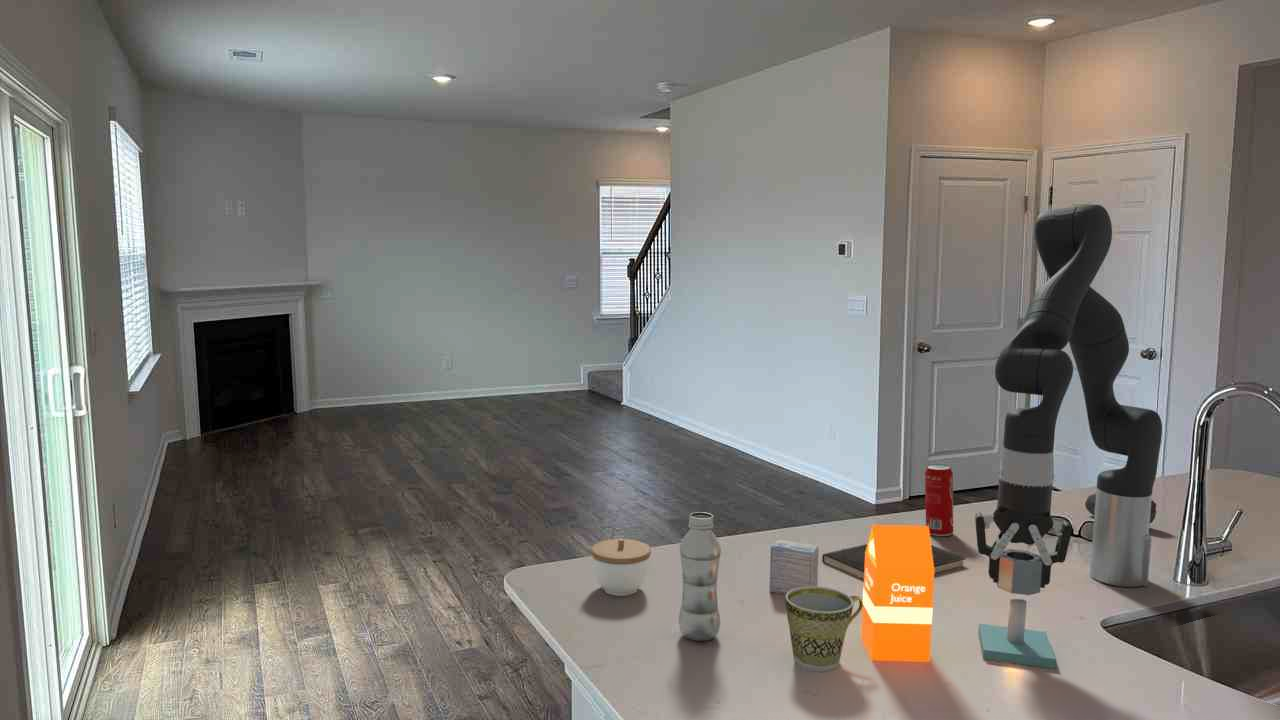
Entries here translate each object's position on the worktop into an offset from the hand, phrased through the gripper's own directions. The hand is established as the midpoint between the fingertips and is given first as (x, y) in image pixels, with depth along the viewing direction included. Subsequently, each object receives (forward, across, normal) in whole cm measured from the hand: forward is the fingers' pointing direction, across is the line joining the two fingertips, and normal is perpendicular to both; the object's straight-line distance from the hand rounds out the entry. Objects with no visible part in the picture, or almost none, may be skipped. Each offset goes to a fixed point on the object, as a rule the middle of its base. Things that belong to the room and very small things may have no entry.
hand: (1018, 583), depth 139 cm
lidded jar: (+11, +66, -4) cm, 67 cm away
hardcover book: (+11, +19, -34) cm, 40 cm away
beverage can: (+11, +10, -57) cm, 59 cm away
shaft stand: (+11, 0, 0) cm, 11 cm away
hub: (+1, 0, 0) cm, 1 cm away
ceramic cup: (+11, +28, +13) cm, 33 cm away
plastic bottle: (+11, +48, +11) cm, 50 cm away
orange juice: (+11, +18, +6) cm, 22 cm away
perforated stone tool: (+11, -30, -79) cm, 85 cm away
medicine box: (+11, +36, -13) cm, 40 cm away
